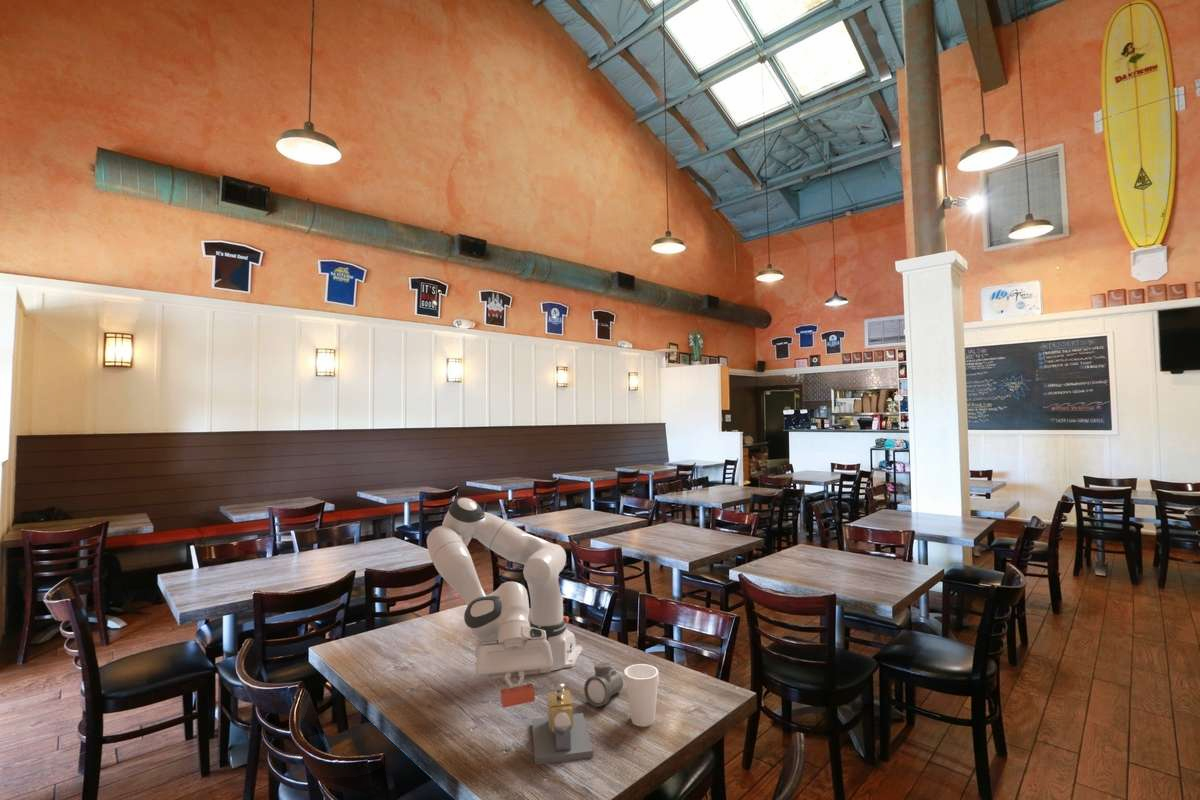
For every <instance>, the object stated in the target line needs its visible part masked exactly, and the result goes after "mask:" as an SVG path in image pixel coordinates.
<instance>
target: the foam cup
mask: <svg viewBox="0 0 1200 800" xmlns="http://www.w3.org/2000/svg"><path fill="white" fill-rule="evenodd" d="M623 673H624V674H623V675H624V677H623V678H624V679H623V681H624V683H625V687H626V694H627V700H628V701H627V702H628V707H629V714H630V718H631V719H630V720H631V723H632V724H633V725H635V726H637V727H643V728H644V727H649V726H652V725H654V723H655V718H656V712H657V711H656V708H657V698H658V687H659V682H660V672H659V669H658V668H657V667H655V666H654V665H651V664H646V663H637V664H636V663H635V664H632V665H629V666H626V667H625V668H624V670H623Z"/></svg>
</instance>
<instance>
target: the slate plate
mask: <svg viewBox="0 0 1200 800" xmlns="http://www.w3.org/2000/svg"><path fill="white" fill-rule="evenodd" d="M531 723H532V724H531V726H532V740H533V741H532V743H533V752H534V753H533V755H534V766H536V765H537V766H538V765H544V764H552V763H559V762H566V761H567V762H568V761H575V760H581V759H590V758H594V754H593V752H594V750H593V747H592V743H591V739H590V735H589V731H588V727H587V724H586V719H585V715H584V712H581V713H580V712H579V713H573V727H572V728H573V730H570V734H571V751H563V752H556V747H555V732H552V730H550V729H549V721H548V716H547V717H538V718H537V717H536V718H532V719H531Z"/></svg>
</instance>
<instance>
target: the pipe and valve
mask: <svg viewBox="0 0 1200 800" xmlns="http://www.w3.org/2000/svg"><path fill="white" fill-rule="evenodd" d="M546 695H547V717H548V721H549V729H550V730H552V732H555V747H556V752H563V751H571V734H570V730H573V728H572V727H573V714H574V708H573V707H574V703H573V698H572V694H571V691H570V690H569V689H565V690H564V691H561V692H557V691H555V692H551V693H546Z"/></svg>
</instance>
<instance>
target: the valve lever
mask: <svg viewBox="0 0 1200 800" xmlns="http://www.w3.org/2000/svg"><path fill="white" fill-rule="evenodd" d="M564 690H566V683H565V682H563V681H556V682H555V683H553V684H547V685H541V686H538V687H534V686H533V684H532V683H528V684H524V685H521V686H518V687H513V688H510V687H509V688H504V689H500V704H501V707H502V708H503V709H504V708H509V707H513V706H518V705H523V704H527V703H528V704H529V703H532V702H535V700H536V696H540V695H541V696H542V695H545V694H546V695H547V694H548V693H551V692H555V691H557V692H561V691H564Z"/></svg>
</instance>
